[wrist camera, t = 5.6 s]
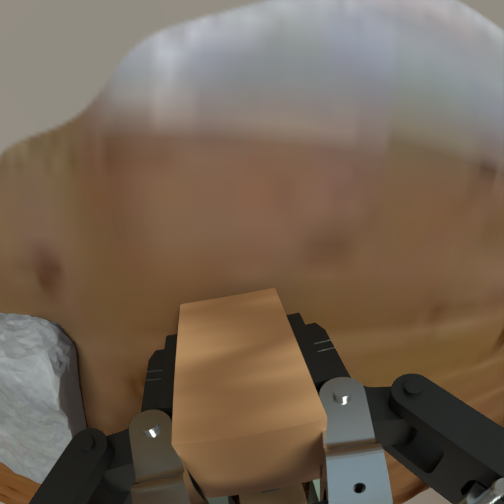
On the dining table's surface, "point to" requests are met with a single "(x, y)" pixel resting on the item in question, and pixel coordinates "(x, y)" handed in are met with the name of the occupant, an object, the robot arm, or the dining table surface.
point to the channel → (314, 496)
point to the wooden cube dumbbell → (245, 401)
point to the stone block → (37, 394)
